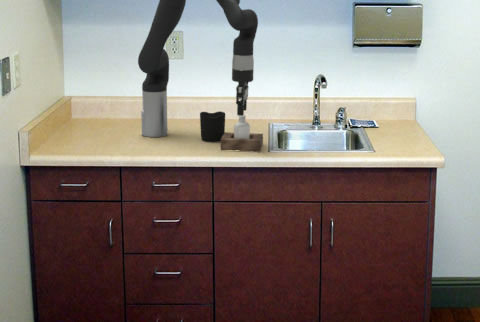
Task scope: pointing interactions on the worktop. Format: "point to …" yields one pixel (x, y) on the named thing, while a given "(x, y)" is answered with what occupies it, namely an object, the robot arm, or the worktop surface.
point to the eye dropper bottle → (242, 129)
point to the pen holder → (212, 126)
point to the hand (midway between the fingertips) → (241, 112)
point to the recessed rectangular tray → (242, 142)
